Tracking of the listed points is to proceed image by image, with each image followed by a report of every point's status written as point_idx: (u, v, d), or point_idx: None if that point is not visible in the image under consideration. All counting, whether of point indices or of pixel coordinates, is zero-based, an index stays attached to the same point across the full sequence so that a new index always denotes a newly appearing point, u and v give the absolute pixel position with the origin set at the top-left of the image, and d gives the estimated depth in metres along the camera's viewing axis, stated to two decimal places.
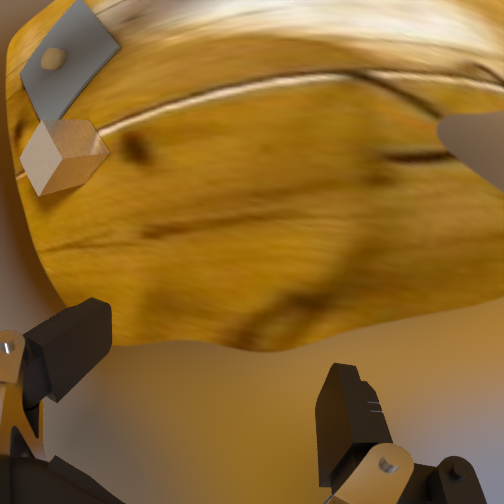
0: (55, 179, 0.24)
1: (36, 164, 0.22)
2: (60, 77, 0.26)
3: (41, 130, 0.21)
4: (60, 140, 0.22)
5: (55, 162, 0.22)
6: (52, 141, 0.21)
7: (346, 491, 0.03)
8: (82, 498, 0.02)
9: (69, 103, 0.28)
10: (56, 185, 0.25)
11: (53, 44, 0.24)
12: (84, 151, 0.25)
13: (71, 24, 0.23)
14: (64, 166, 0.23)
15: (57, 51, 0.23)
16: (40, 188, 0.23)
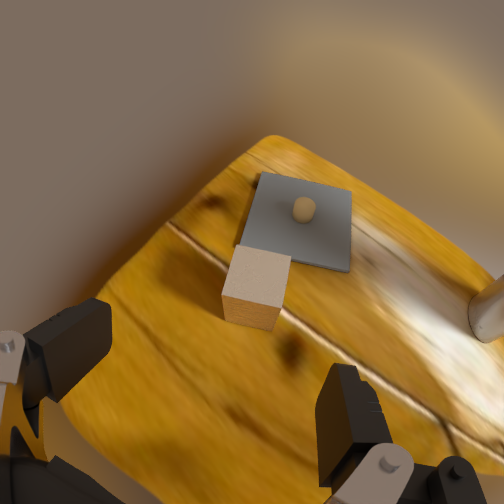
0: (246, 304, 0.28)
1: (249, 273, 0.29)
2: (292, 228, 0.42)
3: (282, 262, 0.30)
4: None
5: (271, 300, 0.27)
6: (285, 285, 0.28)
7: (346, 491, 0.03)
8: (82, 498, 0.02)
9: None
10: (234, 305, 0.29)
11: (308, 197, 0.45)
12: None
13: (332, 204, 0.45)
14: (266, 309, 0.28)
15: (314, 211, 0.41)
16: (232, 293, 0.28)
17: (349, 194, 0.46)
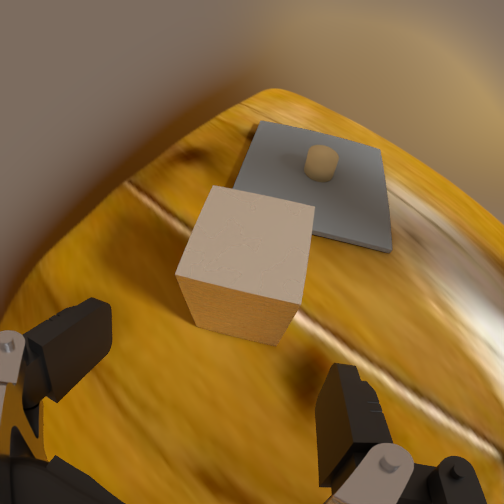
0: (228, 297, 0.14)
1: (235, 235, 0.14)
2: (304, 187, 0.27)
3: (299, 216, 0.15)
4: None
5: (279, 288, 0.13)
6: (306, 257, 0.14)
7: (346, 491, 0.03)
8: (82, 498, 0.02)
9: None
10: (205, 299, 0.15)
11: None
12: None
13: (357, 162, 0.30)
14: (269, 307, 0.14)
15: (336, 164, 0.27)
16: (197, 272, 0.13)
17: (378, 152, 0.32)
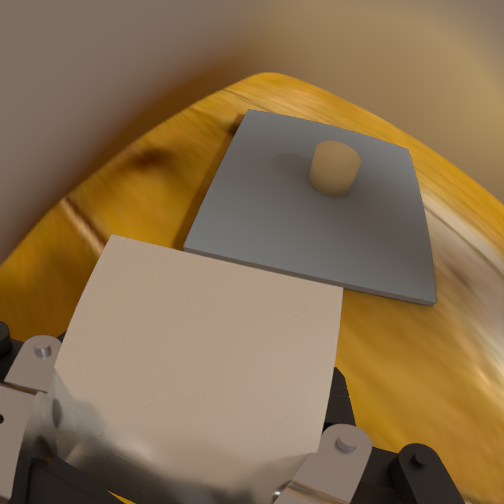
0: None
1: (141, 377, 0.05)
2: (310, 206, 0.18)
3: (305, 321, 0.06)
4: None
5: None
6: (316, 437, 0.05)
7: (304, 474, 0.04)
8: (82, 498, 0.02)
9: (283, 270, 0.16)
10: None
11: None
12: None
13: (382, 166, 0.21)
14: None
15: (357, 170, 0.18)
16: (68, 452, 0.04)
17: (406, 153, 0.23)
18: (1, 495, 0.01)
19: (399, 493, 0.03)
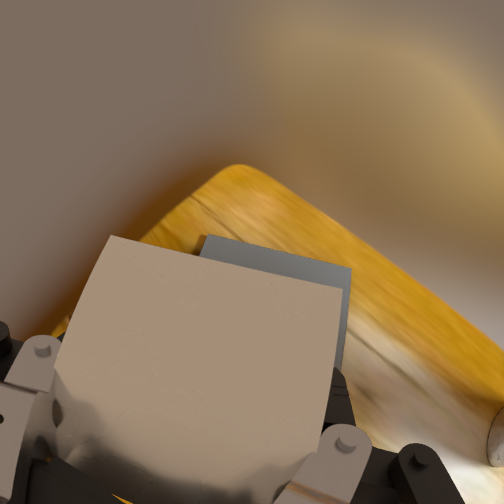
0: None
1: (140, 378, 0.05)
2: None
3: (305, 322, 0.06)
4: None
5: None
6: (315, 438, 0.05)
7: (304, 474, 0.04)
8: (82, 498, 0.02)
9: None
10: None
11: None
12: None
13: None
14: None
15: None
16: (67, 453, 0.04)
17: (348, 274, 0.29)
18: (1, 495, 0.01)
19: (399, 493, 0.03)
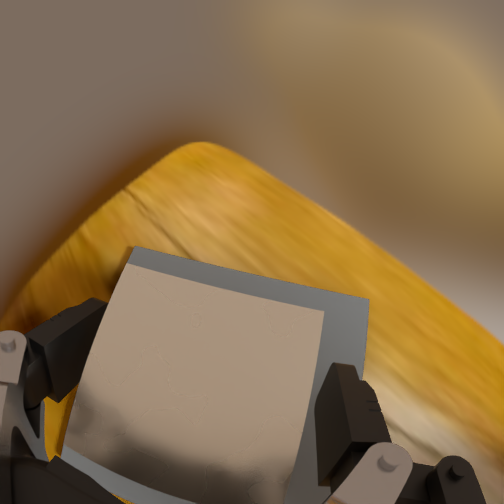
0: None
1: (156, 385, 0.06)
2: None
3: (291, 339, 0.07)
4: None
5: (240, 495, 0.05)
6: (298, 433, 0.06)
7: (344, 490, 0.03)
8: (82, 498, 0.02)
9: None
10: None
11: None
12: None
13: None
14: None
15: None
16: (94, 449, 0.05)
17: (363, 310, 0.17)
18: None
19: None
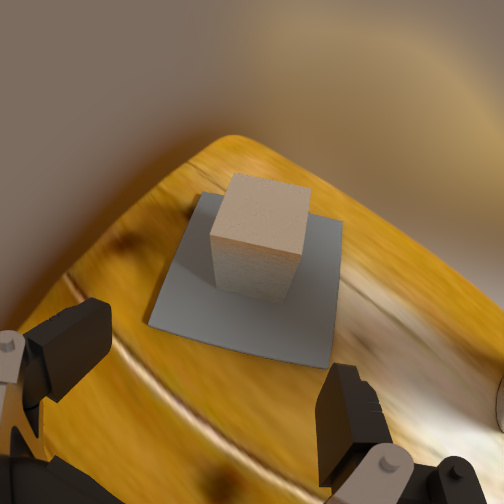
0: (248, 252, 0.19)
1: (252, 207, 0.19)
2: None
3: (299, 195, 0.20)
4: None
5: (286, 243, 0.18)
6: (305, 223, 0.19)
7: (346, 491, 0.03)
8: (82, 498, 0.02)
9: (211, 343, 0.23)
10: (229, 256, 0.20)
11: None
12: None
13: (309, 246, 0.28)
14: (278, 260, 0.19)
15: None
16: (226, 232, 0.18)
17: (339, 226, 0.30)
18: None
19: None
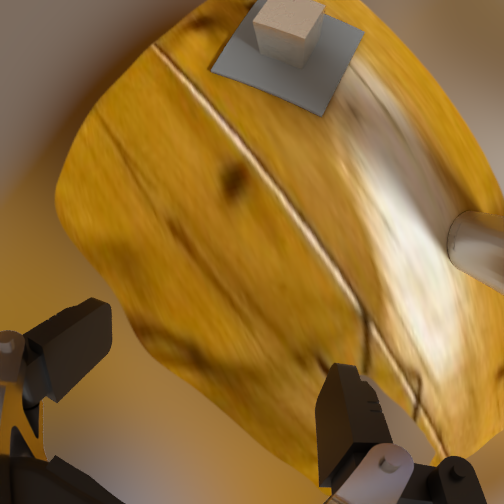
0: (275, 33, 0.23)
1: (282, 10, 0.22)
2: None
3: (315, 8, 0.21)
4: (313, 28, 0.23)
5: (297, 31, 0.22)
6: (313, 23, 0.22)
7: (346, 491, 0.03)
8: (82, 498, 0.02)
9: (249, 84, 0.32)
10: (265, 34, 0.24)
11: None
12: (305, 51, 0.26)
13: (332, 40, 0.29)
14: (292, 39, 0.23)
15: None
16: (262, 21, 0.22)
17: (360, 34, 0.28)
18: None
19: None
